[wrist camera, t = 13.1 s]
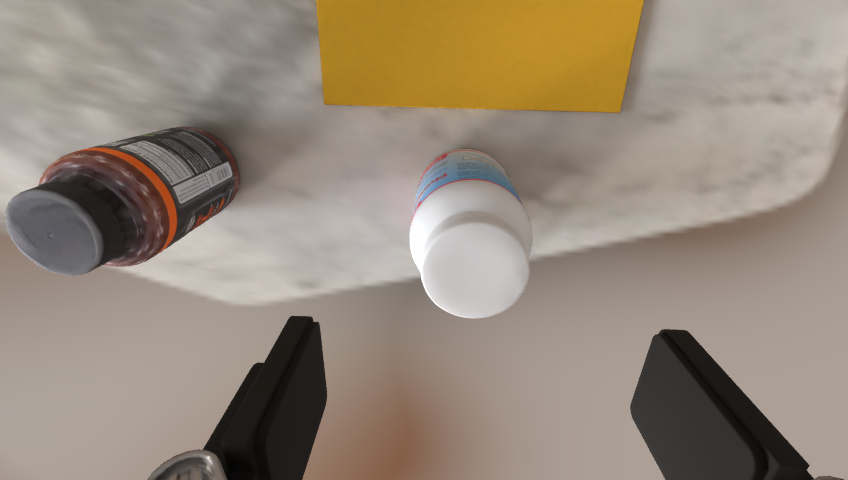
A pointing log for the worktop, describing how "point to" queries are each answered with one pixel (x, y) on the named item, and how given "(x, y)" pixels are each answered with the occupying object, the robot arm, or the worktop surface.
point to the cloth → (478, 53)
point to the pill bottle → (470, 235)
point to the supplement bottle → (122, 200)
